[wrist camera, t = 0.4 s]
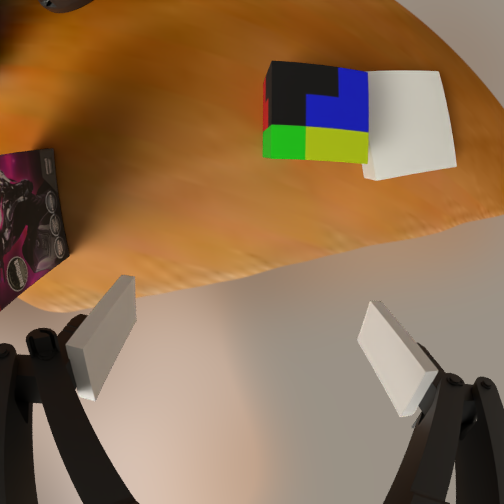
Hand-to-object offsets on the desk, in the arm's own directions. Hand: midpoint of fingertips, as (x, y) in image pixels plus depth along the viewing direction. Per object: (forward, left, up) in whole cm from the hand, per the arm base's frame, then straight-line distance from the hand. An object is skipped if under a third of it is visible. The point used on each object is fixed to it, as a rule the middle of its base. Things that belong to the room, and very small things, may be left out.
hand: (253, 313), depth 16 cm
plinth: (-9, +24, -25) cm, 36 cm away
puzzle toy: (-11, +10, -25) cm, 29 cm away
